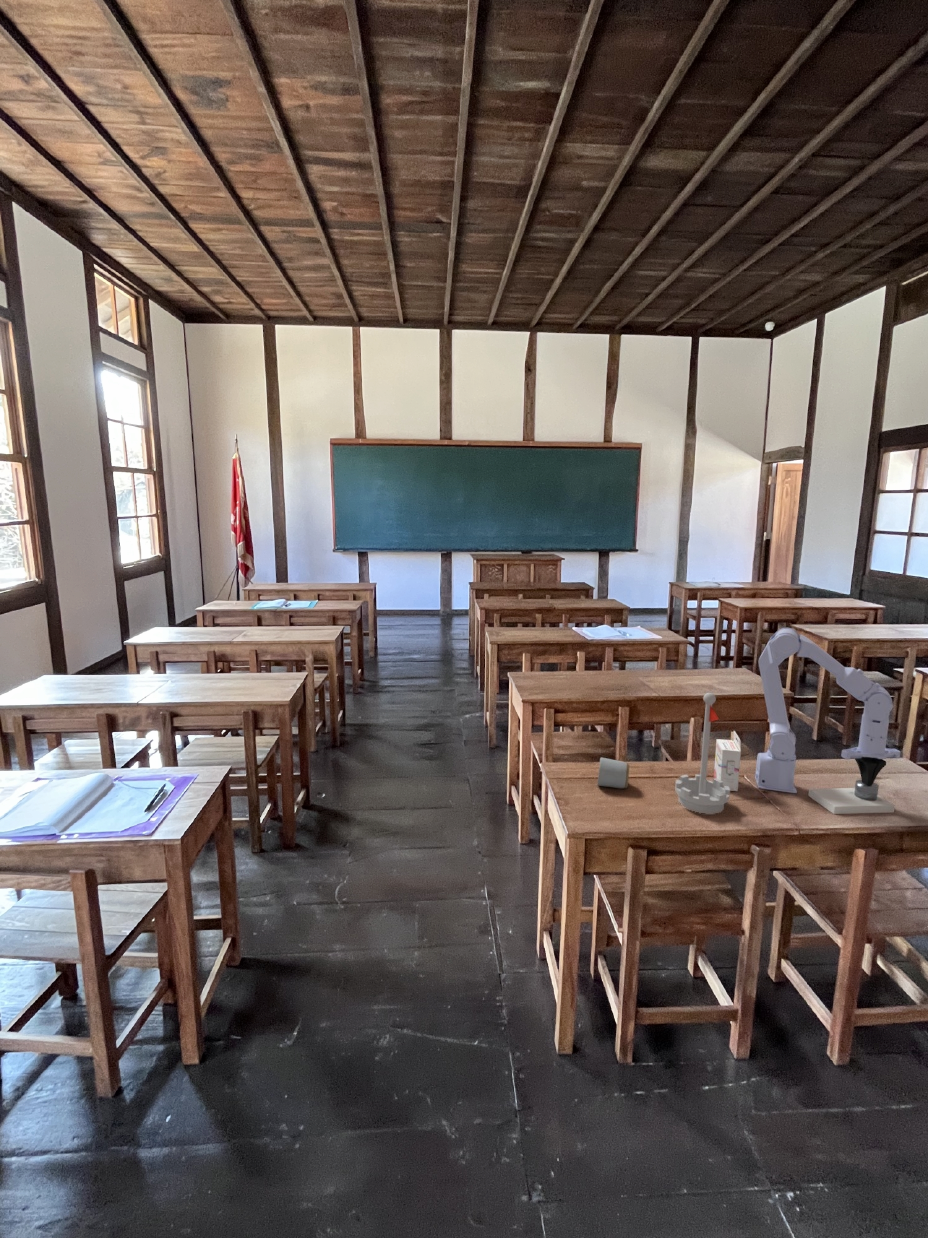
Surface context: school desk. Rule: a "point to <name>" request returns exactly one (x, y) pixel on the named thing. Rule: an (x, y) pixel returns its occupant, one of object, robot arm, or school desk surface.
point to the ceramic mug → (613, 773)
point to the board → (849, 801)
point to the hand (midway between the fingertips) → (866, 784)
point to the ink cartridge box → (728, 762)
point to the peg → (866, 791)
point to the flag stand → (703, 776)
